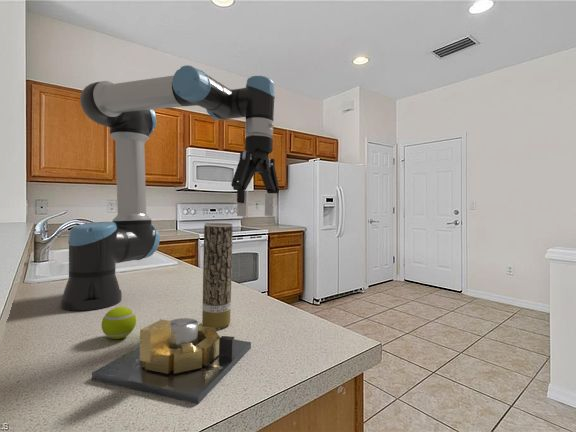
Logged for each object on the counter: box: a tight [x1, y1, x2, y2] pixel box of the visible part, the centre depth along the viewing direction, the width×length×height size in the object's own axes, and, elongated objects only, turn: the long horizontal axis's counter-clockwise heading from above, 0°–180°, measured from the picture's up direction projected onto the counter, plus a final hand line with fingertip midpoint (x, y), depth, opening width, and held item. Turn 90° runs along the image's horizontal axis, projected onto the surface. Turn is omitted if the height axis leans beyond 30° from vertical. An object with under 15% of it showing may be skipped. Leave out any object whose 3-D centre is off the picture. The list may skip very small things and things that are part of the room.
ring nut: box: [139, 319, 221, 374], centre depth 58 cm, size 16×13×8 cm
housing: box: [91, 317, 252, 405], centre depth 60 cm, size 20×20×7 cm
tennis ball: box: [101, 306, 137, 340], centre depth 70 cm, size 7×7×7 cm
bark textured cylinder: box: [201, 222, 234, 330], centre depth 78 cm, size 7×7×25 cm
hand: (256, 216), depth 86 cm, fingers open, 13 cm apart
